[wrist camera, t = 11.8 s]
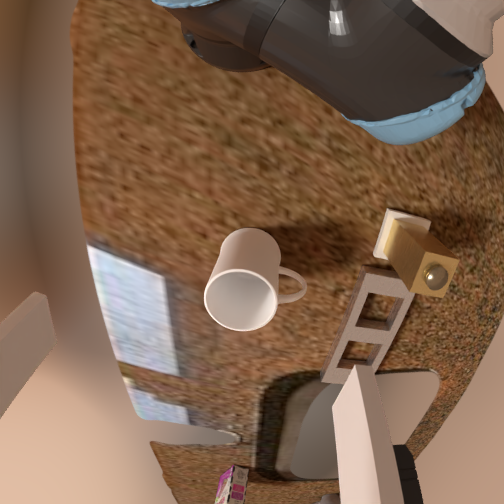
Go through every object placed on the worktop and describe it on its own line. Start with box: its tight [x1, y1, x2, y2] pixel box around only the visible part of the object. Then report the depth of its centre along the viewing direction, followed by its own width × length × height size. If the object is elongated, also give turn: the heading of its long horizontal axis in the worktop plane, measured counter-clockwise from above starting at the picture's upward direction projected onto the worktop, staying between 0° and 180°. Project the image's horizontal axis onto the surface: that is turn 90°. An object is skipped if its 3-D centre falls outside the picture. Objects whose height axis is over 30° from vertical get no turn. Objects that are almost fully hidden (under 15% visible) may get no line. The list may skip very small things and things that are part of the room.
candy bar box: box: [215, 465, 249, 504], centre depth 65 cm, size 11×5×16 cm, turn 155°
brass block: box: [383, 219, 459, 298], centre depth 35 cm, size 5×5×12 cm
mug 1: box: [204, 228, 307, 331], centre depth 39 cm, size 12×8×12 cm
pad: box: [373, 208, 431, 260], centre depth 41 cm, size 7×7×1 cm
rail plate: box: [320, 265, 415, 384], centre depth 47 cm, size 22×9×2 cm, turn 170°
